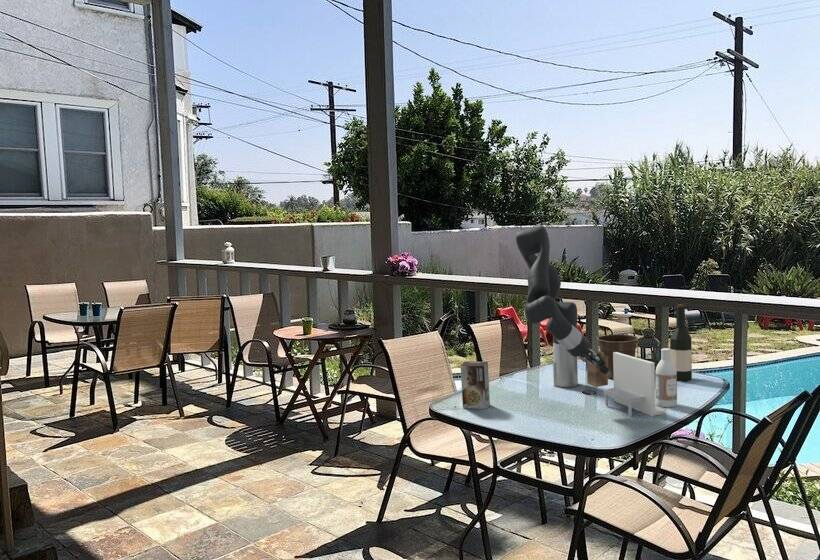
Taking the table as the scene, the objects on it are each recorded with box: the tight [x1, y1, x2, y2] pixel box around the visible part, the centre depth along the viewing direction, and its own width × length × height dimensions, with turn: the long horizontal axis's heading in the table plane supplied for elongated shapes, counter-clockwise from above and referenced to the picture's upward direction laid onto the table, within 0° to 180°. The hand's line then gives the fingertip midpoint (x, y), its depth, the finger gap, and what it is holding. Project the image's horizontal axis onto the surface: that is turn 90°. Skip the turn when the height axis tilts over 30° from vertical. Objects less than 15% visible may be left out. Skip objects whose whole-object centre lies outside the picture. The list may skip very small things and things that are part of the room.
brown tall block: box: [586, 350, 609, 388], centre depth 232 cm, size 5×5×11 cm
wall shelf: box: [603, 352, 666, 417], centre depth 237 cm, size 12×20×18 cm, turn 20°
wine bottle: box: [669, 304, 693, 383], centre depth 270 cm, size 8×8×30 cm
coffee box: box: [459, 361, 491, 410], centre depth 249 cm, size 9×6×16 cm
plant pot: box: [596, 334, 639, 380], centre depth 280 cm, size 16×16×16 cm
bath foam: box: [655, 347, 678, 408], centre depth 238 cm, size 7×7×20 cm
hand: (602, 370), depth 233 cm, fingers closed on brown tall block, 4 cm apart
